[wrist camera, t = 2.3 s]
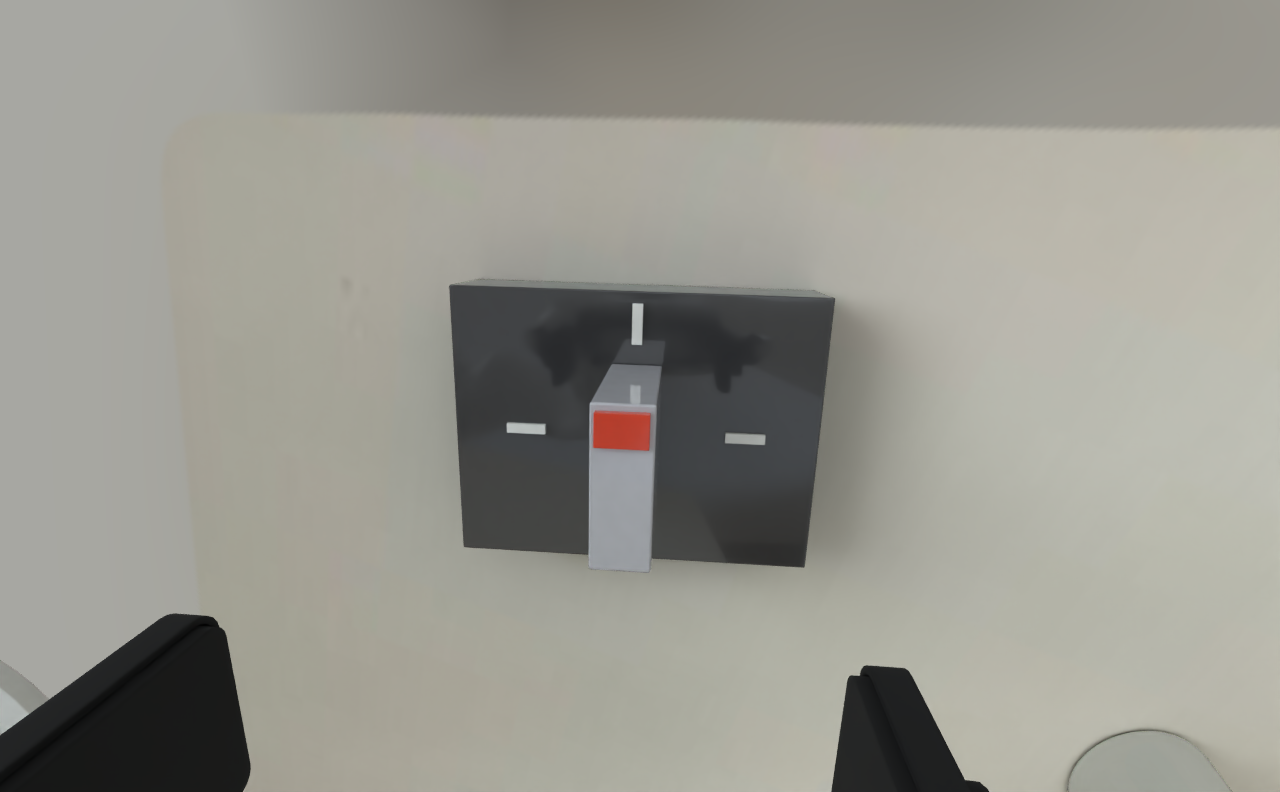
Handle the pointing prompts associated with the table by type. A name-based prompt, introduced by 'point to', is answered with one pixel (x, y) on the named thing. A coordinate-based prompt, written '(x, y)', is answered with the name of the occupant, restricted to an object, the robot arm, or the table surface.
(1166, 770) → the beer glass
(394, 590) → the table surface
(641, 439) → the hob knob
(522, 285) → the panel
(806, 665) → the table surface
